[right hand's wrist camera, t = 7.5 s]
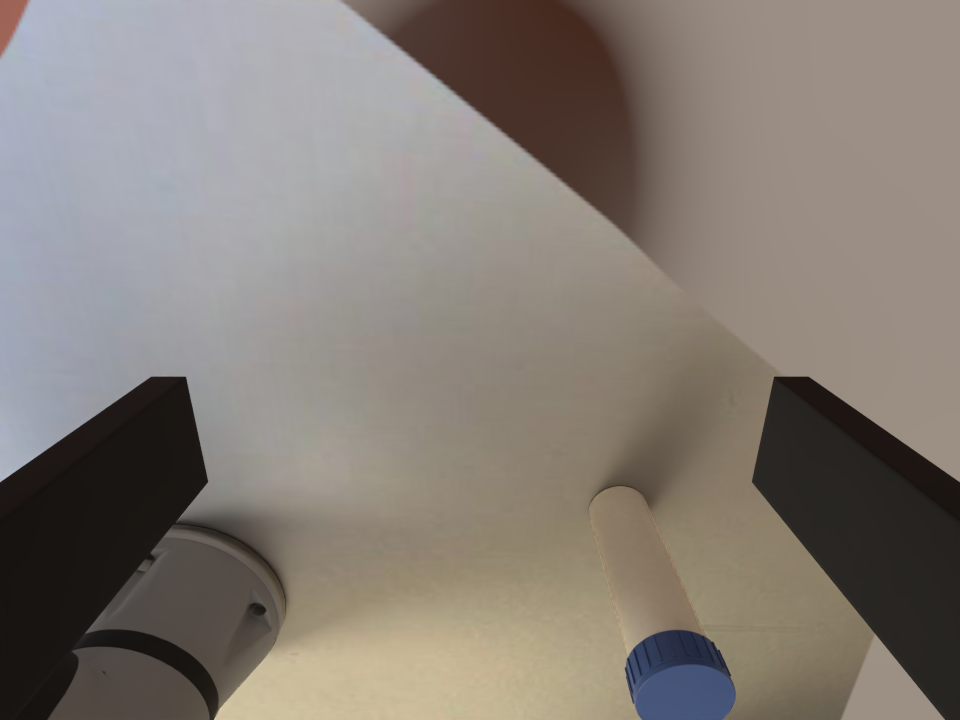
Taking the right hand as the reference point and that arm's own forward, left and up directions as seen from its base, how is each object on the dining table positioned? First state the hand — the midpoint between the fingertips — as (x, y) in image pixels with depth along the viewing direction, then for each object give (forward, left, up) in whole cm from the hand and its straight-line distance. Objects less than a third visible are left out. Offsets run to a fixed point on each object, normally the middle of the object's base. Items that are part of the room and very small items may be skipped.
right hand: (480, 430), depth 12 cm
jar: (-12, -20, -25) cm, 34 cm away
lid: (-12, -20, -9) cm, 25 cm away
